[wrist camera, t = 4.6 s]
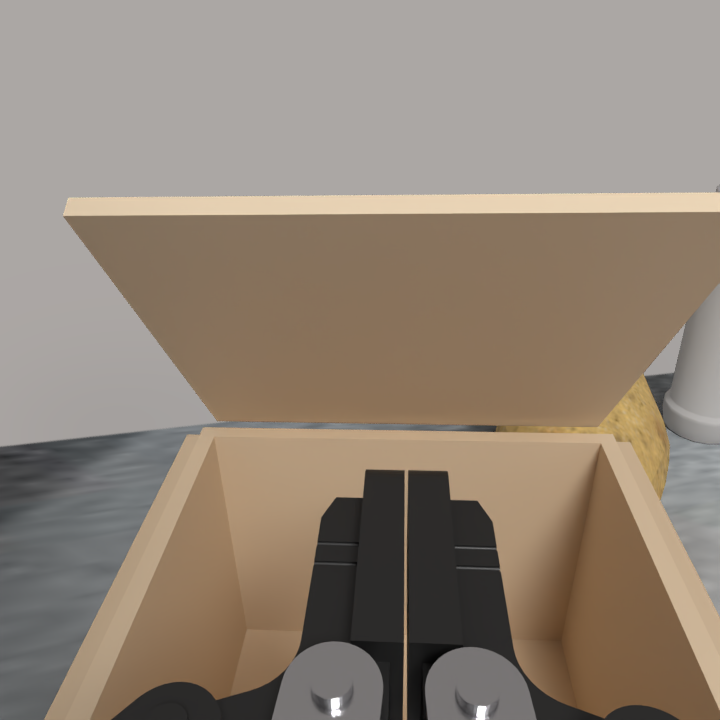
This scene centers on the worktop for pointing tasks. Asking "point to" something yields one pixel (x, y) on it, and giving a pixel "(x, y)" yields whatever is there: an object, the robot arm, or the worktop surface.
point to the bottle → (697, 376)
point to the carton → (466, 482)
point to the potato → (628, 431)
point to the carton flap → (410, 299)
